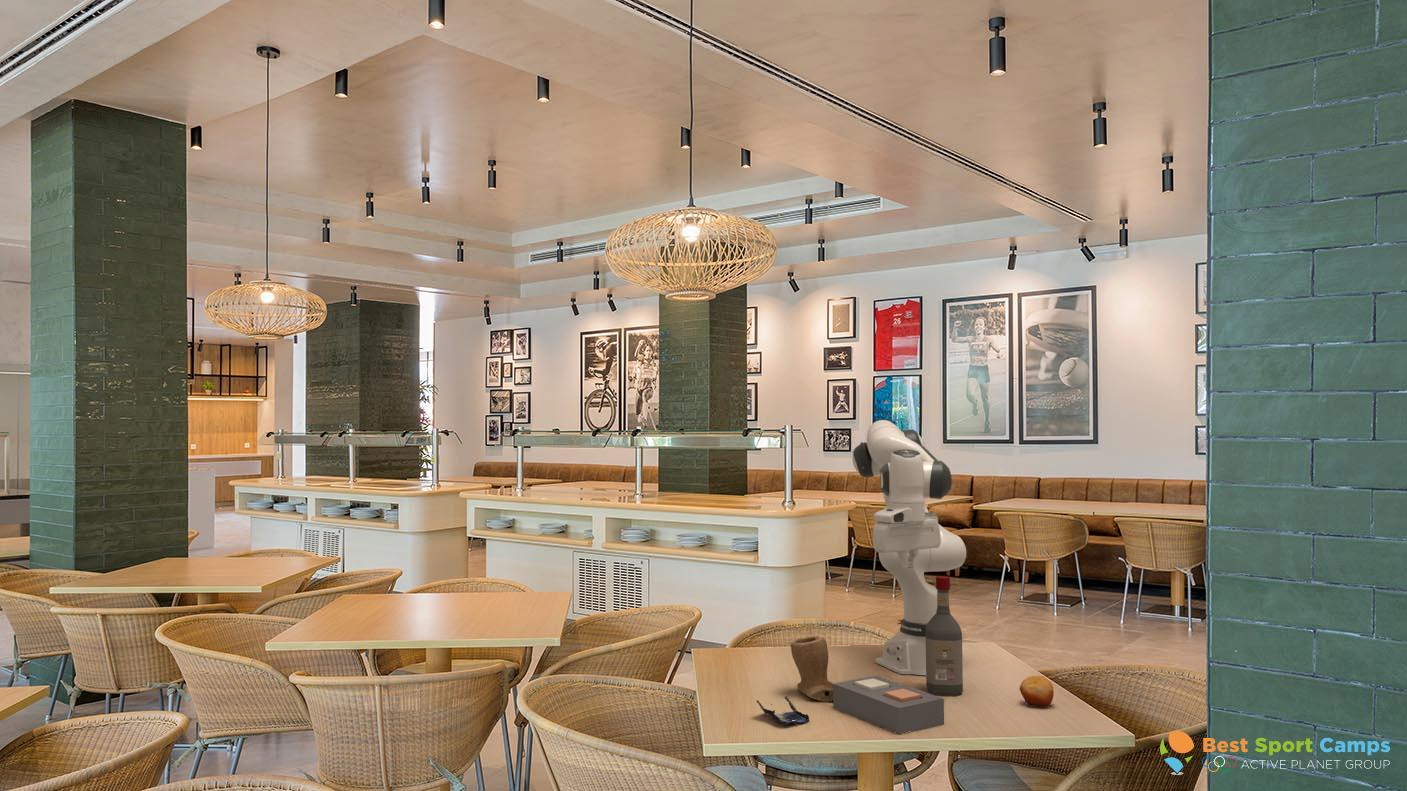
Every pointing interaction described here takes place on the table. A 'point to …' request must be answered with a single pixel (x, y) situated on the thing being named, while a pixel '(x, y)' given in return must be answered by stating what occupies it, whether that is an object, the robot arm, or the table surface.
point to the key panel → (889, 706)
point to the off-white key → (871, 684)
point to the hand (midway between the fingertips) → (908, 567)
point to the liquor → (943, 647)
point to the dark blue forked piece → (787, 715)
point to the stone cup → (812, 667)
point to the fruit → (1037, 691)
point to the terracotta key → (902, 695)
